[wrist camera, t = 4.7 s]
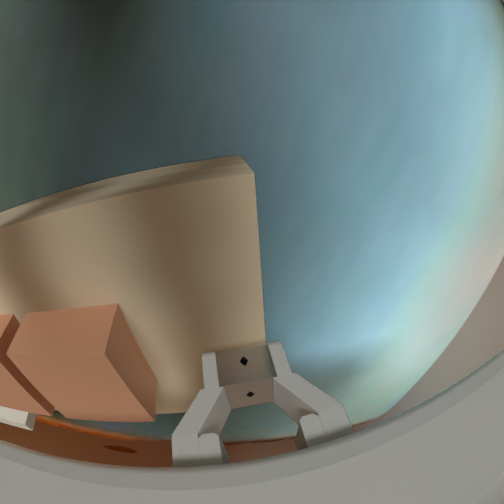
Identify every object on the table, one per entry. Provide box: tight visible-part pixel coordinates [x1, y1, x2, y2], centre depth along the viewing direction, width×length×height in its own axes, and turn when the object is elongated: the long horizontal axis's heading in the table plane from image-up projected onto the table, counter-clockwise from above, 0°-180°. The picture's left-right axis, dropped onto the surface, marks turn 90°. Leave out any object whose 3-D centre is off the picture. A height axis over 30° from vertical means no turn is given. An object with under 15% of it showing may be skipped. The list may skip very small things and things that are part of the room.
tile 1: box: [0, 314, 55, 416], centre depth 9 cm, size 5×5×2 cm
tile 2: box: [6, 303, 157, 422], centre depth 9 cm, size 5×5×2 cm
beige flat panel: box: [0, 155, 266, 414], centre depth 12 cm, size 18×13×3 cm
